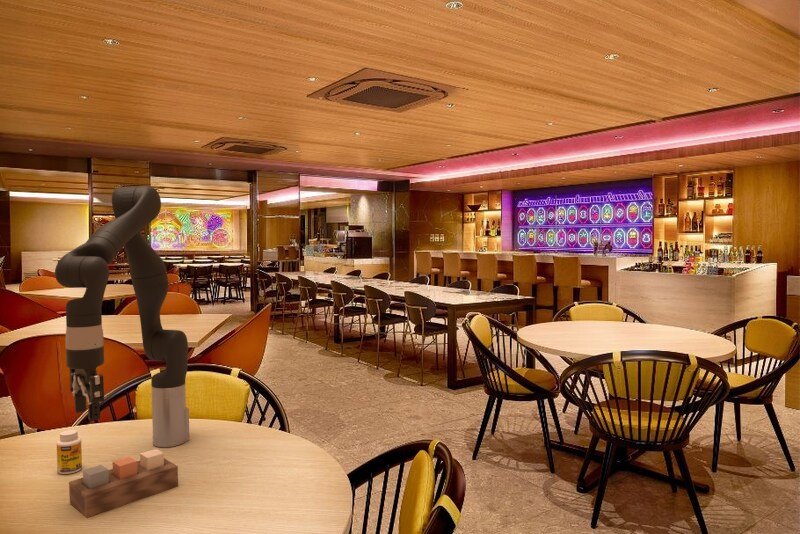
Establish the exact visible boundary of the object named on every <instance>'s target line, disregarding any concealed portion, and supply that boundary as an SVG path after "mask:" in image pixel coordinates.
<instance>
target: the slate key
mask: <svg viewBox="0 0 800 534" xmlns="http://www.w3.org/2000/svg"><path fill="white" fill-rule="evenodd" d="M108 470H109V469H108V468H107V467H106V466H104V465H102V464H99V465H95V466H92V467H88V468H85V469H83V470H82V478H83V485H85V486H86V487H87V488H89V489H91V488H94V487H98V486H101V485H104V484H107V483H109V473H108Z"/></svg>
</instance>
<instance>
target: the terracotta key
mask: <svg viewBox="0 0 800 534" xmlns="http://www.w3.org/2000/svg"><path fill="white" fill-rule="evenodd" d="M137 461H138V460H136V459H134V458H133V457H131V456H127V457H123V458H120V459H117V460H114V461H112V469H113V476H115V477H116V478H118V479H119V480H120V479H123V478H126V477H129V476H132V475H136V474H137Z"/></svg>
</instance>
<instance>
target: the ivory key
mask: <svg viewBox="0 0 800 534" xmlns="http://www.w3.org/2000/svg"><path fill="white" fill-rule="evenodd" d="M164 455H165V454H164V452H163V451H160V450H159V449H157V448H155V449H151V450H148V451H145V452H141V453H139V461H140V467H142V468H143V469H145V470H146V471H148V470H152V469H155V468H158V467H161V466H164Z"/></svg>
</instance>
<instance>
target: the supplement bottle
mask: <svg viewBox="0 0 800 534" xmlns="http://www.w3.org/2000/svg"><path fill="white" fill-rule="evenodd" d="M82 452H83V451H82V439H81V437H80V436H79V435H78V430H77V429H68V430H64V431H62V432H59V439H58V440H57V442H56V466H57V473H58V474H60V475H72V474H74V473H76V472H79V471H80V470H82V468H83V462H82V461H83V455H82Z"/></svg>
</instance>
